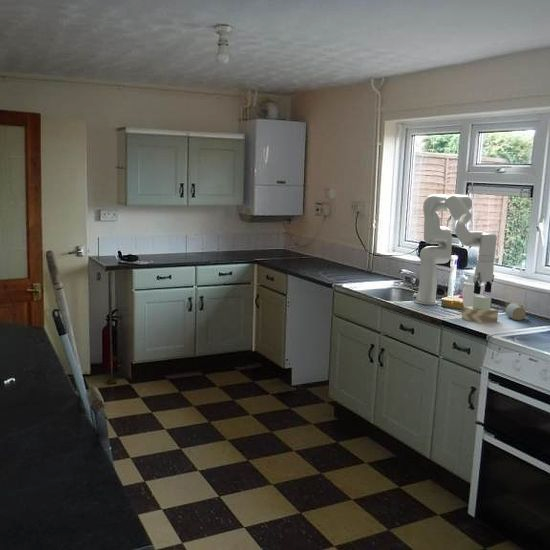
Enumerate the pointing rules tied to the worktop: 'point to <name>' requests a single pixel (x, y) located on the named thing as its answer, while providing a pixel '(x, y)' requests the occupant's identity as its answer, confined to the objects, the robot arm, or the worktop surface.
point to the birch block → (480, 315)
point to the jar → (470, 293)
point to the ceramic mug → (516, 312)
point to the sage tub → (482, 302)
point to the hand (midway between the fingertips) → (482, 292)
